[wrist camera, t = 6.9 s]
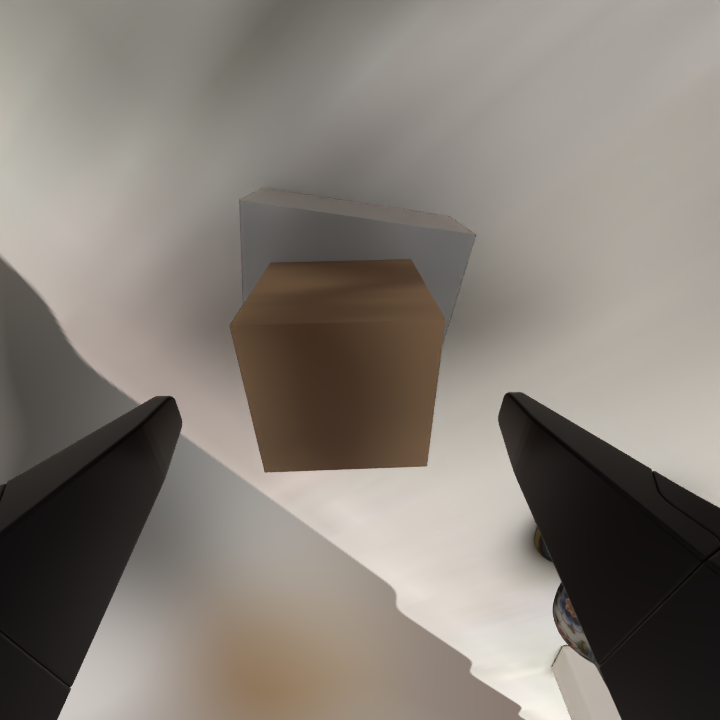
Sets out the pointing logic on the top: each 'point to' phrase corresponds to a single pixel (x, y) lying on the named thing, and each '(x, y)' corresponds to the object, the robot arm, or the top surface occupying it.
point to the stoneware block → (351, 239)
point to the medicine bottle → (583, 688)
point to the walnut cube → (340, 364)
